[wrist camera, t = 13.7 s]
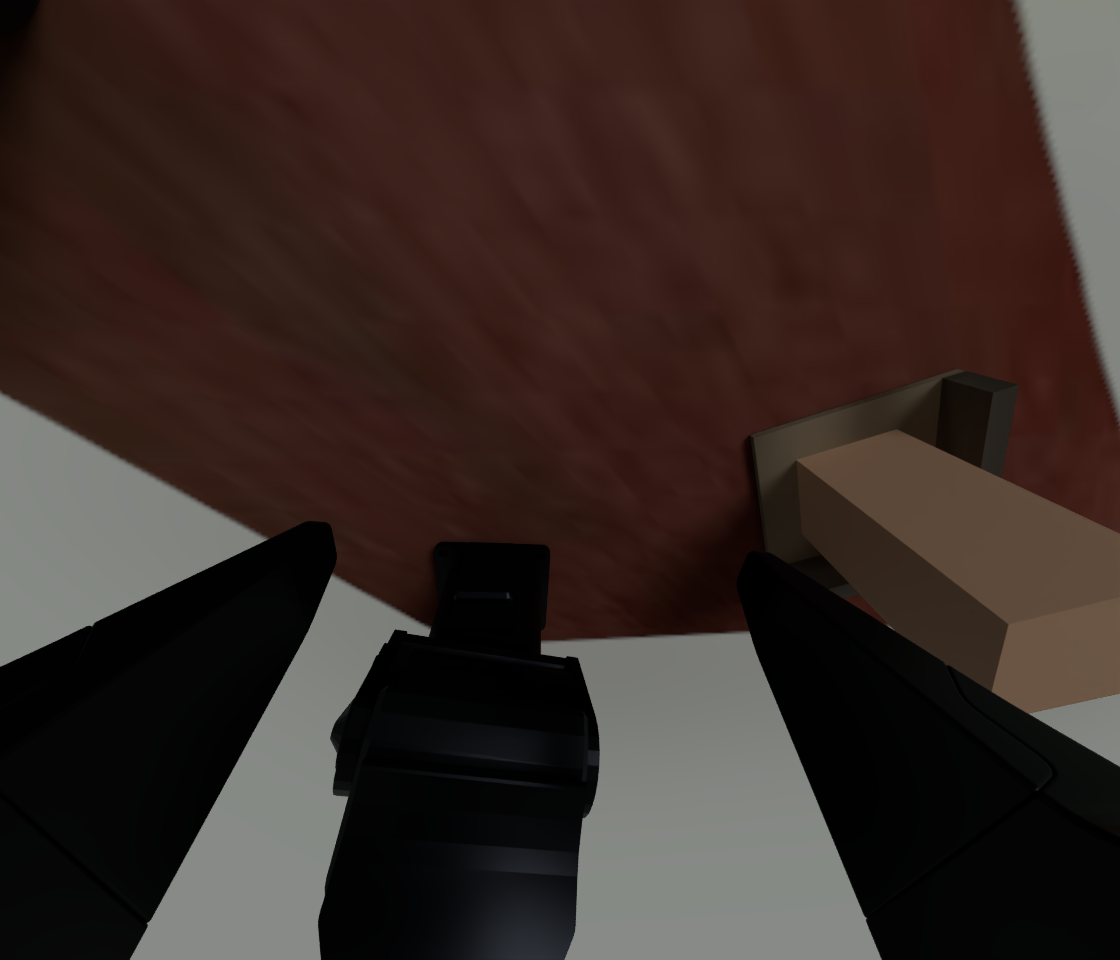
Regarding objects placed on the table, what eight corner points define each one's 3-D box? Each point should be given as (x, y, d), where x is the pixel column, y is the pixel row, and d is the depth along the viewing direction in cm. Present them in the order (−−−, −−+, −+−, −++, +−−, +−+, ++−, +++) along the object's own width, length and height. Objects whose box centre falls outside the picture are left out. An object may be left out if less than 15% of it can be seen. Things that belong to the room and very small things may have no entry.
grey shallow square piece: (768, 576, 26) (793, 611, 23) (750, 435, 21) (779, 458, 18) (938, 529, 24) (984, 560, 22) (957, 369, 20) (1018, 384, 17)
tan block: (802, 533, 24) (983, 723, 14) (796, 459, 21) (1008, 624, 12) (892, 508, 23) (1147, 687, 13) (896, 429, 21) (1208, 575, 11)
